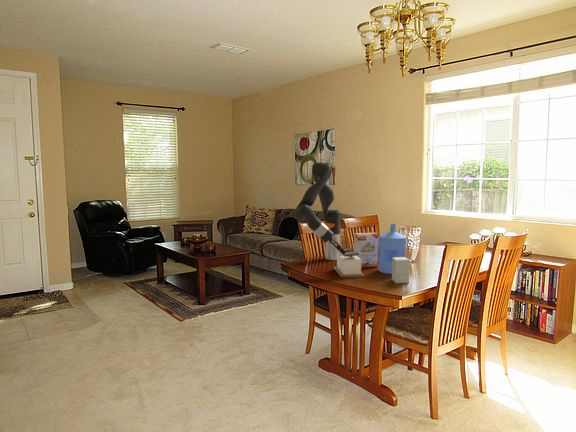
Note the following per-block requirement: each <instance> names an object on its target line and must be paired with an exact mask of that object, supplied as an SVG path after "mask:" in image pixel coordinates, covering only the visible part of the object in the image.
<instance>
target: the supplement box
mask: <svg viewBox="0 0 576 432" xmlns="http://www.w3.org/2000/svg"><path fill="white" fill-rule="evenodd" d="M410 260H411V259H409V258H407V257H406V256H405V257H392V274H391V280H392V281H393V282H394V283H395V284H408V283H410V262H411V261H410Z"/></svg>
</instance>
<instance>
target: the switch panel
mask: <svg viewBox="0 0 576 432" xmlns="http://www.w3.org/2000/svg"><path fill="white" fill-rule="evenodd" d="M333 269H334V271H336V272H337V274H338V275H339V276H340V277H341V278H365V274H364V273H363V272H362V268H361V259H360V258H359V257H358V256H352V257H350V256H347V257H345V256H344V255H343V254H340V253H339V254H337V260H336V266H333Z"/></svg>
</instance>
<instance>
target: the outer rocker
mask: <svg viewBox="0 0 576 432" xmlns="http://www.w3.org/2000/svg"><path fill="white" fill-rule="evenodd" d="M357 255H359V253H358V252H354V251H350V252H348V253H345V254H344V256H345V257H347V256H350V257H352V256H357Z"/></svg>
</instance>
